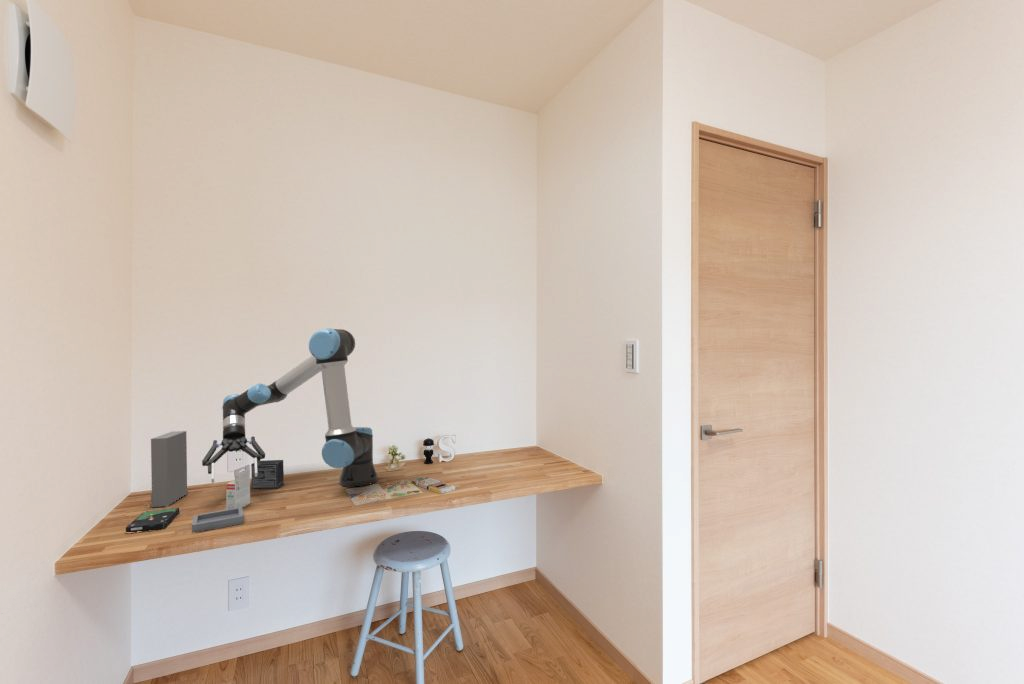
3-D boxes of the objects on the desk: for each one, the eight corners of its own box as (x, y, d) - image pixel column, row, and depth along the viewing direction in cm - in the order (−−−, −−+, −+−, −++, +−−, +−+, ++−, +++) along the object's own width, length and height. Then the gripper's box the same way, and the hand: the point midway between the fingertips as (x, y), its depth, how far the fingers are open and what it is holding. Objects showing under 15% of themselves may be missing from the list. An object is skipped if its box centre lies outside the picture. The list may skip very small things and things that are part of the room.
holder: (242, 514, 161) (242, 506, 161) (243, 523, 153) (243, 515, 153) (193, 522, 154) (193, 515, 154) (192, 533, 145) (192, 525, 145)
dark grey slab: (170, 495, 182) (169, 431, 182) (187, 494, 183) (186, 430, 183) (149, 508, 168) (148, 439, 168) (167, 506, 169) (166, 438, 169)
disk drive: (165, 531, 149) (179, 514, 163) (164, 522, 149) (179, 506, 163) (125, 536, 145) (143, 518, 159) (125, 527, 145) (143, 510, 159)
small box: (284, 484, 195) (284, 459, 195) (278, 489, 188) (277, 463, 188) (258, 485, 194) (258, 459, 194) (250, 490, 187) (250, 464, 187)
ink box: (225, 511, 164) (225, 470, 164) (241, 503, 172) (241, 464, 172) (235, 511, 163) (234, 470, 163) (250, 504, 171) (250, 464, 171)
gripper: (269, 431, 191) (272, 477, 178) (196, 438, 178) (194, 488, 165) (270, 420, 187) (273, 467, 174) (195, 427, 174) (193, 477, 161)
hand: (234, 477), depth 170 cm, fingers open, 13 cm apart
